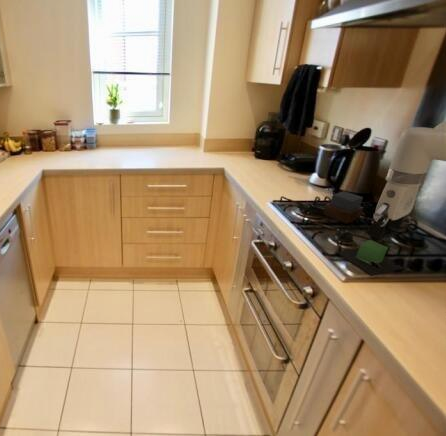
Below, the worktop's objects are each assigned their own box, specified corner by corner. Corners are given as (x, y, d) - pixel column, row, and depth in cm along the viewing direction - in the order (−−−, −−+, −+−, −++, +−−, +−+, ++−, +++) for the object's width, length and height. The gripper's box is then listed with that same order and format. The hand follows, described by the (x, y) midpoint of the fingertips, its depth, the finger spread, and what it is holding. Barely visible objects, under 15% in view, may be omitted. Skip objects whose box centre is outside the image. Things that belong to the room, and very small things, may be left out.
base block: (336, 208, 127) (339, 198, 125) (360, 217, 120) (364, 207, 118) (322, 214, 123) (325, 203, 121) (346, 223, 116) (350, 213, 114)
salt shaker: (389, 222, 116) (402, 192, 111) (409, 228, 112) (424, 197, 107) (384, 227, 113) (397, 197, 108) (404, 234, 109) (419, 202, 103)
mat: (366, 247, 103) (367, 246, 102) (404, 269, 92) (404, 268, 92) (336, 253, 100) (336, 252, 100) (370, 276, 90) (371, 274, 90)
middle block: (340, 200, 124) (343, 190, 122) (359, 206, 118) (363, 197, 117) (329, 204, 121) (332, 194, 119) (348, 211, 116) (352, 201, 114)
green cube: (364, 253, 99) (369, 239, 97) (382, 261, 95) (388, 247, 93) (355, 257, 97) (360, 244, 95) (373, 266, 93) (379, 252, 91)
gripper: (405, 187, 77) (382, 246, 85) (438, 173, 84) (414, 229, 92) (371, 179, 83) (352, 234, 91) (405, 166, 90) (384, 219, 98)
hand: (383, 231), depth 91 cm, fingers open, 9 cm apart
